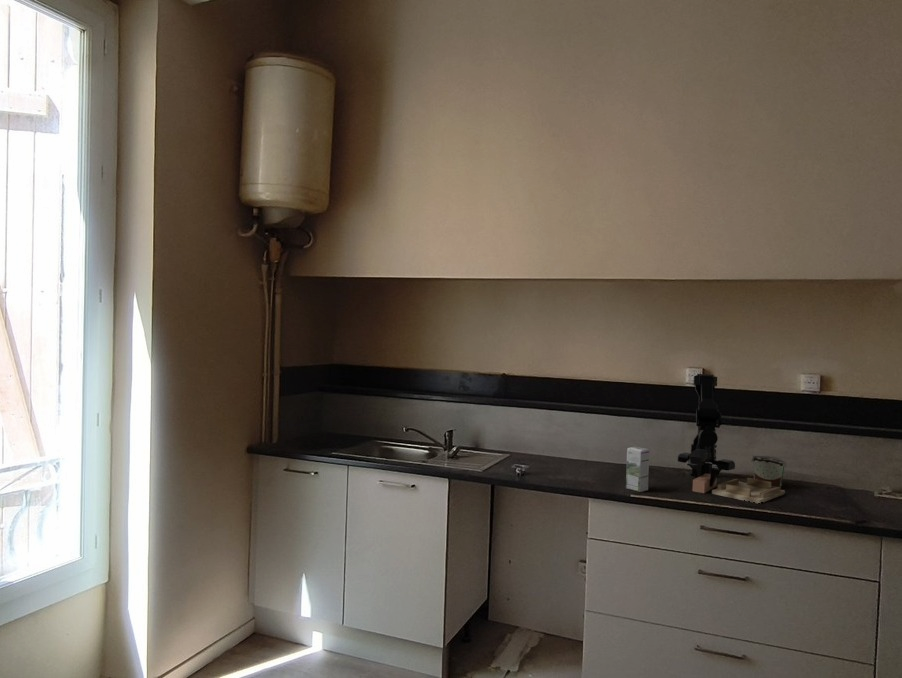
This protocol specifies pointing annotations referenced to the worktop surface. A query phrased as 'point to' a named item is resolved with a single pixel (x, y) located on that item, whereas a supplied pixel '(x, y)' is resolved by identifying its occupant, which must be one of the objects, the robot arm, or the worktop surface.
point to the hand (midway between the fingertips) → (704, 485)
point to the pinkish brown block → (703, 484)
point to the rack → (748, 490)
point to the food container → (769, 469)
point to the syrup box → (637, 469)
